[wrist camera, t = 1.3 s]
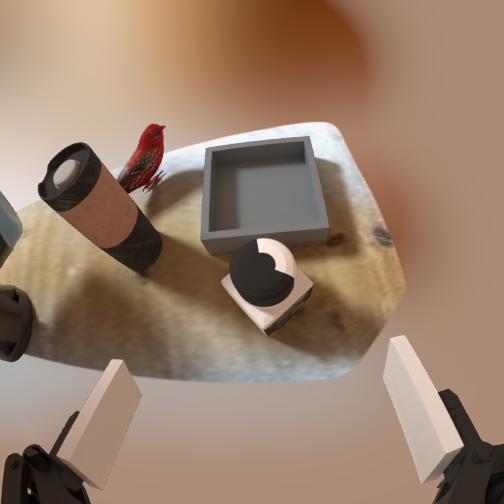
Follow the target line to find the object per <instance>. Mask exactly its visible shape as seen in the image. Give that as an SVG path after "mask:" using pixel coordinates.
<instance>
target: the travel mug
mask: <svg viewBox="0 0 504 504" xmlns="http://www.w3.org/2000/svg"><path fill="white" fill-rule="evenodd" d="M38 193H39V196H40V197H41V199H42V200H43V201H45V202H46V203H47V204H48V205H49V206H50V207H51V208H52V209H53V210H55V211H56V212H57V213H58V214H59V215H60V216H61V217H63V218H64V219H65V220H66V221H67V222H68V223H70V224H71V225H72V226H73V227H74V228H75V229H77V230H78V231H79V232H80V233H81V234H83V235H84V236H85V237H86V238H88V239H89V240H90V241H91V242H92V243H94V244H95V245H96V246H98V247H99V248H100V249H102V250H103V251H105V252H106V253H107V254H109V255H110V256H112V257H113V258H115V259H116V260H118V261H119V262H121V263H122V264H124V265H125V266H127V267H128V268H130V269H133V270H142V269H145V268H147V267H149V266H150V265H152V264H153V263H154V262H155V261H156V259H157V258H158V256H159V254H160V252H161V247H162V242H161V238H160V235H159V234H158V232H157V231H156V229H155V228H154V227H153V226H152V224H151V223H150V222H149V220H148V219H147V218H146V216H145V215H144V214H143V213H142V211H141V210H140V209H139V207H138V206H137V205H136V203H135V202H134V201H133V200H132V198H131V197H130V196H129V195H128V194H127V192H126V191H125V190H124V189H123V188H122V186H121V185H120V184H119V183H118V182H117V180H116V179H115V178H114V177H113V175H112V174H111V173H110V172H109V171H108V169H107V168H106V167H105V166H104V164H103V163H102V162H101V161H100V159H99V158H98V157H97V155H96V154H95V153H94V152H93V150H92V149H91V148H90V147H89V145H87V144H86V143H81V142H80V143H75V144H72V145H70V146H68V147H66V148H64V149H63V150H62V151H60V152H59V153H58V154H57V155H56V156H55V157H54V158H53V159H52V160H51V161H50V163H49V164H48V168H47V173H46V176H45V178H44V180H43V181H42V182H41V183H39V185H38Z"/></svg>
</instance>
